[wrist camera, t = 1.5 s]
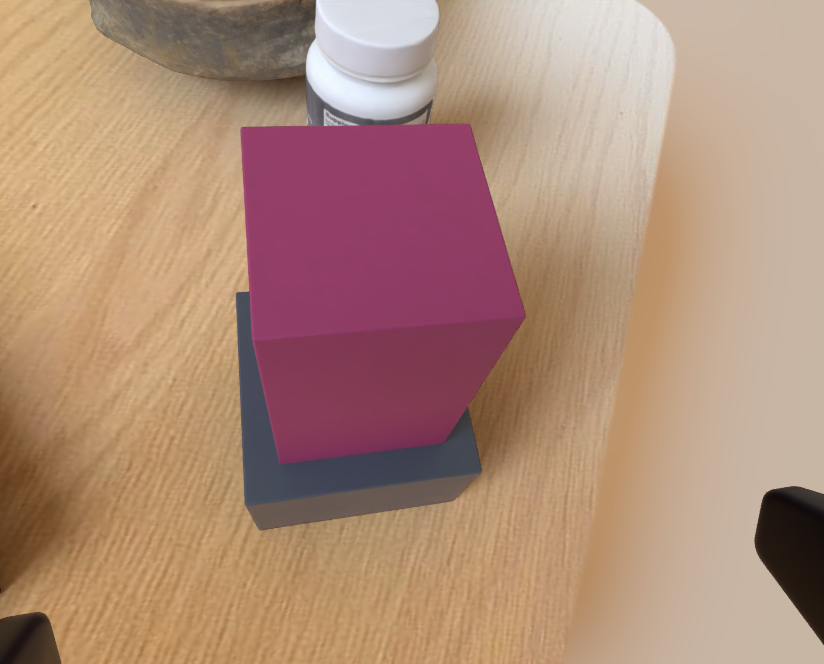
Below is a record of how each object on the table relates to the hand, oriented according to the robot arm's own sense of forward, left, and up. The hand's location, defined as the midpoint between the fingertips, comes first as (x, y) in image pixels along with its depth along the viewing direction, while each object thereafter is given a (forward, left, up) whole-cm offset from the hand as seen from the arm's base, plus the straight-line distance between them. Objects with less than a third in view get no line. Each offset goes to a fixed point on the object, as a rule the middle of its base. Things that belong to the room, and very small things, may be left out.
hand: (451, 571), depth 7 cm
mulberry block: (+6, 0, -8) cm, 10 cm away
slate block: (+6, 0, -12) cm, 14 cm away
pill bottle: (+17, -1, -12) cm, 21 cm away
